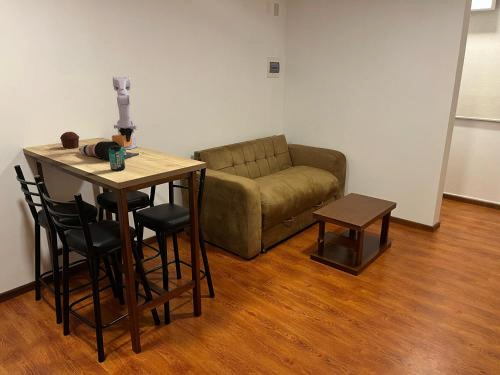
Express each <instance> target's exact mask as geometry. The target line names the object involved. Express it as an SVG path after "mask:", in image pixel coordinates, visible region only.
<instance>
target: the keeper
mask: <svg viewBox="0 0 500 375" xmlns="http://www.w3.org/2000/svg"><path fill="white" fill-rule="evenodd" d="M123 150H124V160H128V159H131V158H134V157H136V156H139V152H129V151H127V149H123Z"/></svg>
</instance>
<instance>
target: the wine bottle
mask: <svg viewBox="0 0 500 375" xmlns="http://www.w3.org/2000/svg"><path fill="white" fill-rule="evenodd" d="M113 145H119V144H118V143H116V142H112V140H111V141H105V140H103V141H99V142H97V143H92V144H82V145H81V146H80V147H78V151H79V152H80V153H81V154H82V155H83V156H89V157H90V156H91V157H96V158H98V159H100V160H105V161H110V159H109V148H110V146H113Z"/></svg>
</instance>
